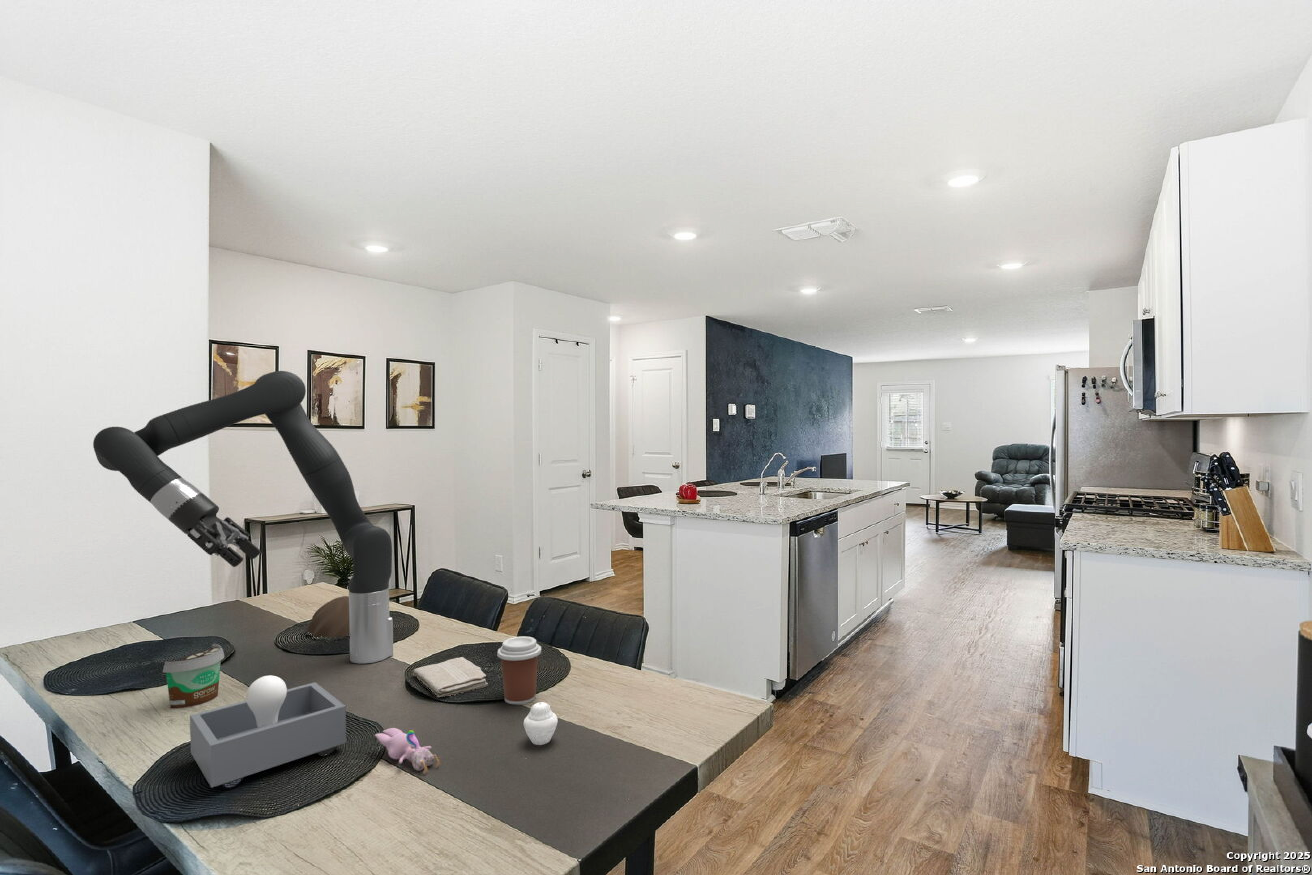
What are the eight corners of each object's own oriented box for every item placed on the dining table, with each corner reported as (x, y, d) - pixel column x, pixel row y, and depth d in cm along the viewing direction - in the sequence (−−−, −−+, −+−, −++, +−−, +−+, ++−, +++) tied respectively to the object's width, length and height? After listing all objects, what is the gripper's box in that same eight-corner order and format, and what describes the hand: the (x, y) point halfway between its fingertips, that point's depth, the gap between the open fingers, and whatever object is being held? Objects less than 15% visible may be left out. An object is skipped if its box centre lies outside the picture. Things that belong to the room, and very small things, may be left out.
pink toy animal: (447, 770, 110) (394, 734, 118) (450, 737, 110) (396, 704, 118) (415, 787, 105) (362, 749, 113) (418, 753, 104) (364, 716, 113)
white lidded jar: (542, 752, 113) (541, 712, 113) (516, 743, 116) (515, 705, 116) (565, 737, 118) (564, 699, 118) (539, 730, 122) (539, 693, 122)
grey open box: (316, 723, 126) (315, 682, 126) (346, 751, 115) (345, 705, 115) (190, 761, 112) (189, 714, 112) (211, 797, 100) (210, 745, 100)
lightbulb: (296, 733, 115) (294, 672, 115) (264, 750, 109) (263, 685, 109) (270, 729, 117) (269, 668, 117) (238, 744, 111) (237, 681, 111)
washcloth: (439, 702, 136) (438, 687, 136) (410, 678, 150) (410, 664, 150) (492, 687, 144) (491, 674, 144) (460, 666, 158) (459, 653, 157)
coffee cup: (550, 693, 139) (549, 637, 139) (525, 710, 130) (524, 650, 130) (516, 687, 143) (515, 632, 142) (488, 702, 134) (487, 645, 134)
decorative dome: (292, 643, 176) (292, 606, 176) (327, 621, 196) (326, 588, 196) (365, 641, 177) (364, 604, 177) (392, 620, 196) (391, 587, 196)
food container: (188, 713, 131) (187, 664, 131) (163, 711, 133) (162, 662, 132) (239, 689, 143) (238, 644, 143) (215, 687, 145) (214, 643, 145)
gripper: (180, 495, 124) (248, 552, 127) (216, 489, 138) (276, 540, 141) (150, 524, 123) (218, 580, 126) (188, 515, 137) (249, 566, 140)
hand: (248, 559), depth 133 cm, fingers open, 8 cm apart
